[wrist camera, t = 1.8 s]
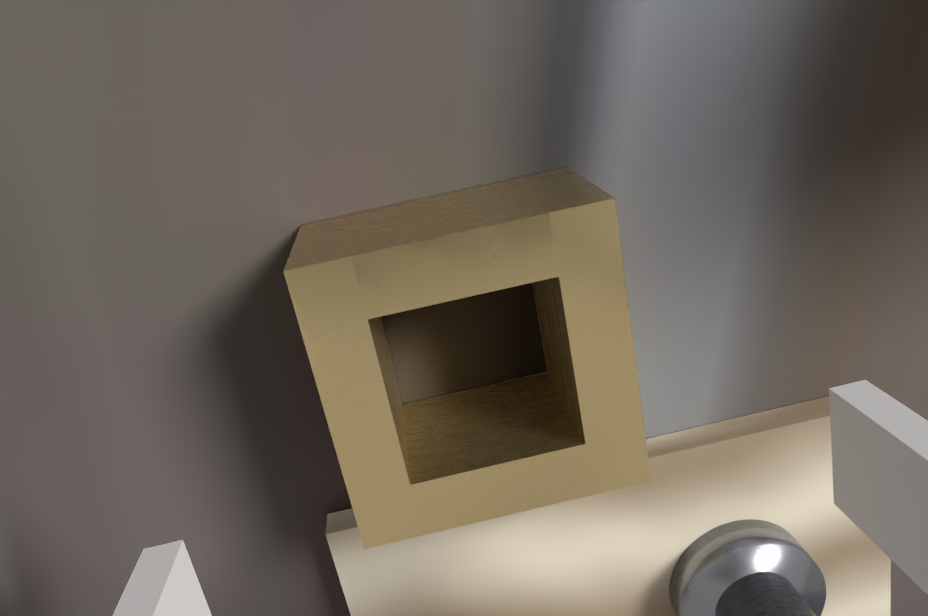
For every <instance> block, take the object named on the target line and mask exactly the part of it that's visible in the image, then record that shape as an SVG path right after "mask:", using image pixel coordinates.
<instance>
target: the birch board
mask: <svg viewBox="0 0 928 616" xmlns="http://www.w3.org/2000/svg"><path fill="white" fill-rule="evenodd" d="M646 447H647V455H648V463H649V470H650V478H651V481H650V482H646V483H641V484H637V485H633V486H629V487H625V488H620V489H616V490H612V491H608V492H603V493H599V494H595V495H591V496H587V497H582V498H578V499H574V500H570V501H566V502H561V503H557V504H553V505H549V506H544V507H540V508H536V509H532V510H528V511H523V512H519V513H515V514H511V515H506V516H502V517H498V518H494V519H490V520H485V521H481V522H477V523H473V524H469V525H464V526H460V527H456V528H452V529H447V530H443V531H439V532H435V533H431V534H426V535H422V536H418V537H414V538H409V539H405V540H401V541H397V542H393V543H388V544H384V545H380V546H376V547H372V548H367V549H364V546H363V543H362V539H361V536H360V532H359V529H358V526H357V522H356V519H355V515H354V512H353V508H350V509H346V510H342V511H338V512H333V513H329V514H327V524H326V538H327V541H328V544H329V547H330V551H331V554H332V557H333V560H334V564H335V567H336V570H337V573H338V576H339V580H340V583H341V586H342V589H343V592H344V596H345V599H346V602H347V605H348V609H349V612H350V615H351V616H677V615H676V613H675V611H674V609H673V607H672V604H671V601H670V596H669V585H670V579H671V575H672V572H673V569H674V567H675V565H676V563H677V561H678V559H679V558H680V556H681V555H682V554H683V552H684V551H685V550H686V549H687V548H688V547H689V546H690V544H692V543H693V542H694V541H695V540H696V539H697V538H699V537H700V536H702V535H703V534H704V533H706V532H708V531H710V530H711V529H713V528H715V527H718V526H720V525H722V524H726V523H729V522H733V521H738V520H748V519H754V520H763V521H768V522H771V523H774V524H776V525H779V526H781V527H782V528H784V529H785V530H787V531H788V532H789V533H790V534H791V535H792V536H793V537H794V538H795V539H796V540H797V541H798V543H799V544H800V545H801V546H802V547H803V548H804V550H805V551H806V552H807V553H808V554H809V555H810V557H811V558H812V559H813V560H814V561H815V563H816V564H817V565H818V567H819V568H820V570H821V572H822V574H823V576H824V579H825V583H826V600H825V605H824V608H823V611H822V614H821V616H890V571H891V559H890V558H889V557H888V556H887V555H886V554H885V553H884V552H883V551H882V550H881V549H880V548H879V547H878V546H877V545H876V544H875V543H874V542H873V541H872V540H871V539H870V538H869V537H868V536H867V535H866V534H865V533H864V532H863V531H862V530H861V529H860V528H858V527H857V526H856V525H855V524H854V523H853V522H852V521H851V520H850V519H849V518H848V517H847V516H846V515H845V514H844V513H843V512H842V511H841V510H840V509H839V508H838V507H837V506H836V505H835V504H834V495H833V470H832V446H831V422H830V397H829V396H828V397H823V398H819V399H815V400H811V401H806V402H802V403H798V404H794V405H789V406H785V407H781V408H777V409H772V410H768V411H764V412H759V413H755V414H751V415H747V416H742V417H738V418H734V419H730V420H725V421H721V422H717V423H713V424H708V425H704V426H700V427H696V428H691V429H687V430H683V431H679V432H674V433H670V434H666V435H661V436H657V437H653V438H649V439H646Z"/></svg>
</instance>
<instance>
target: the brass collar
mask: <svg viewBox="0 0 928 616" xmlns="http://www.w3.org/2000/svg"><path fill="white" fill-rule="evenodd" d="M283 272H284V275H285V279H286V282H287V286H288V289H289V293H290V296H291V299H292V303H293V306H294V310H295V313H296V317H297V320H298V323H299V327H300V330H301V334H302V337H303V341H304V344H305V347H306V351H307V354H308V358H309V361H310V365H311V368H312V371H313V375H314V378H315V382H316V385H317V389H318V392H319V395H320V399H321V402H322V406H323V409H324V412H325V416H326V419H327V423H328V426H329V430H330V433H331V436H332V440H333V443H334V447H335V450H336V454H337V457H338V460H339V464H340V467H341V471H342V474H343V478H344V481H345V484H346V488H347V491H348V495H349V498H350V502H351V505H352V508H353V512H354V515H355V519H356V522H357V526H358V529H359V532H360V536H361V539H362V543H363V546H364V549H367V548H372V547H376V546H380V545H384V544H388V543H393V542H397V541H401V540H405V539H409V538H414V537H418V536H422V535H426V534H431V533H435V532H439V531H443V530H447V529H452V528H456V527H460V526H464V525H469V524H473V523H477V522H481V521H485V520H490V519H494V518H498V517H502V516H506V515H511V514H515V513H519V512H523V511H528V510H532V509H536V508H540V507H544V506H549V505H553V504H557V503H561V502H566V501H570V500H574V499H578V498H582V497H587V496H591V495H595V494H599V493H603V492H608V491H612V490H616V489H620V488H625V487H629V486H633V485H637V484H641V483H646V482H650V481H651V478H650V470H649V463H648V455H647V447H646V439H645V431H644V423H643V416H642V408H641V400H640V392H639V384H638V376H637V368H636V361H635V353H634V345H633V337H632V329H631V321H630V313H629V306H628V298H627V290H626V282H625V274H624V266H623V259H622V251H621V243H620V235H619V227H618V219H617V211H616V204H615V198H614V197H612V196H611V195H609V194H607V193H606V192H604V191H603V190H601V189H600V188H598V187H597V186H595V185H593V184H592V183H590V182H589V181H587V180H586V179H584V178H583V177H581V176H580V175H578V174H576V173H575V172H573V171H572V170H570V169H569V168H567V167H565V168H561V169H556V170H551V171H547V172H542V173H538V174H533V175H529V176H524V177H519V178H515V179H510V180H506V181H501V182H496V183H492V184H487V185H483V186H478V187H473V188H469V189H464V190H460V191H455V192H451V193H446V194H441V195H437V196H432V197H428V198H423V199H418V200H414V201H409V202H405V203H400V204H395V205H391V206H386V207H382V208H377V209H373V210H368V211H363V212H359V213H354V214H350V215H345V216H340V217H336V218H331V219H327V220H322V221H317V222H313V223H308V224H304V225H301V226H300V229H299V231H298V234H297V237H296V239H295V242H294V244H293V247H292V250H291V252H290V255H289V258H288V260H287V263H286V265H285V268H284V271H283ZM528 283H532V289H533V294H534V300H535V306H536V312H537V318H538V323H539V329H540V335H541V341H542V346H543V352H544V358H545V364H546V370H547V371H546V372H541V373H537V374H533V375H528V376H524V377H519V378H515V379H511V380H506V381H502V382H498V383H493V384H489V385H485V386H480V387H476V388H472V389H467V390H463V391H458V392H454V393H450V394H445V395H441V396H437V397H432V398H428V399H424V400H419V401H415V402H410V403H406V404H403V402H402V398H401V394H400V390H399V386H398V382H397V378H396V374H395V370H394V366H393V362H392V358H391V354H390V350H389V346H388V342H387V338H386V334H385V330H384V326H383V322H382V318H381V316H385V315H390V314H394V313H399V312H403V311H408V310H412V309H417V308H421V307H425V306H430V305H434V304H439V303H443V302H448V301H452V300H457V299H461V298H466V297H470V296H475V295H479V294H483V293H488V292H492V291H497V290H501V289H506V288H510V287H515V286H519V285H524V284H528Z"/></svg>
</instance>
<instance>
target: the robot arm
mask: <svg viewBox="0 0 928 616" xmlns="http://www.w3.org/2000/svg"><path fill="white" fill-rule="evenodd" d="M829 397H830V422H831V446H832V470H833V495H834V504H835V505H836V506H837V507H838V508H839V509H840V510H841V511H842V512H843V513H844V514H845V515H846V516H847V517H848V518H849V519H850V520H851V521H852V522H853V523H854V524H855V525H856V526H857V527H858V528H860V529H861V530H862V531H863V532H864V533H865V534H866V535H867V536H868V537H869V538H870V539H871V540H872V541H873V542H874V543H875V544H876V545H877V546H878V547H879V548H880V549H881V550H882V551H883V552H884V553H885V554H886V555H887V556H888V557H889V558H890V559H891V560H892V561H893V562H894V563H895V564H897V565H898V566H899V567H900V568H901V569H902V570H903V571H904V572H905V573H906V574H907V575H908V576H909V577H910V578H911V579H912V580H913V581H914V582H915V583H916V584H917V585H918V586H919V587H920V588H921V589H922V590H923V591H924V592H925V593H926V594H927V595H928V421H927V420H926V419H924V418H923V417H921V416H920V415H918V414H916V413H915V412H913V411H912V410H910V409H909V408H907V407H906V406H904V405H903V404H901V403H900V402H898V401H897V400H895V399H894V398H892V397H891V396H889V395H888V394H886V393H885V392H883V391H882V390H880V389H879V388H877V387H876V386H874V385H872V384H871V383H869V382H868V381H866V380H863V381H858V382H854V383H850V384H845V385H841V386H837V387H833V388H829ZM113 616H212V615H211V612H210V610H209V607H208V605H207V602H206V599H205V597H204V594H203V591H202V589H201V586H200V584H199V581H198V578H197V576H196V573H195V570H194V568H193V565H192V563H191V560H190V557H189V555H188V552H187V549H186V547H185V544H184V542H183V540H180V541H176V542H171V543H167V544H163V545H158V546H154V547H150V548H146V549H143V551H142V553H141V556H140V558H139V560H138V562H137V564H136V566H135V568H134V571H133V573H132V575H131V577H130V579H129V581H128V583H127V586H126V588H125V590H124V592H123V594H122V596H121V598H120V601H119V603H118V605H117V607H116V609H115V611H114V613H113Z"/></svg>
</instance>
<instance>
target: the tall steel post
mask: <svg viewBox="0 0 928 616" xmlns="http://www.w3.org/2000/svg"><path fill="white" fill-rule="evenodd" d="M669 596H670V601H671V604H672V607H673V609H674V611H675V613H676V615H677V616H821V614H822V611H823V608H824V605H825V600H826V583H825V579H824V576H823V574H822V572H821V570H820V568H819V567H818V565H817V564H816V563H815V561H814V560H813V559H812V558H811V557H810V555H809V554H808V553H807V552H806V551H805V550H804V548H803V547H802V546H801V545H800V544H799V543H798V541H797V540H796V539H795V538H794V537H793V536H792V535H791V534H790V533H789V532H788V531H787V530H785V529H784V528H782V527H781V526H779V525H776V524H774V523H771V522H768V521H763V520H754V519H748V520H738V521H733V522H729V523H726V524H722V525H720V526H718V527H715V528H713V529H711V530H710V531H708V532H706V533H704V534H703V535H702V536H700V537H699V538H697V539H696V540H695V541H694V542H693V543H692V544H690V546H689V547H688V548H687V549H686V550H685V551H684V552H683V554H682V555H681V556H680V558H679V559H678V561H677V563H676V565H675V567H674V569H673V572H672V575H671V579H670V585H669Z"/></svg>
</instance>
